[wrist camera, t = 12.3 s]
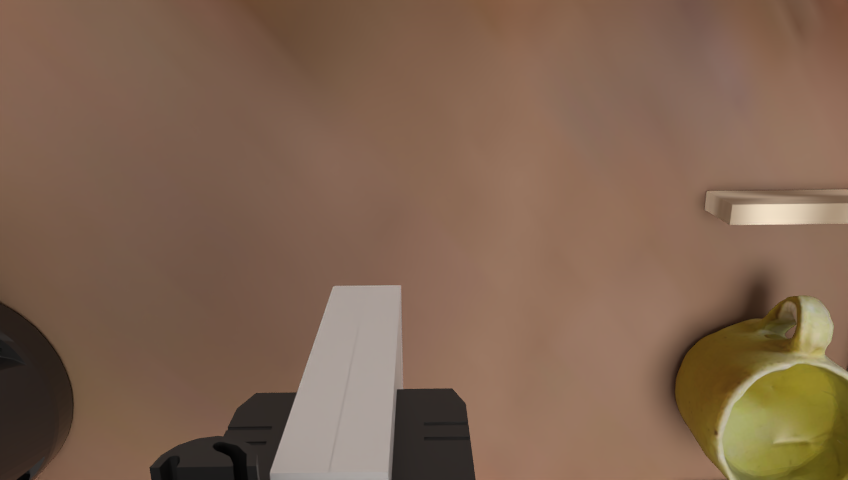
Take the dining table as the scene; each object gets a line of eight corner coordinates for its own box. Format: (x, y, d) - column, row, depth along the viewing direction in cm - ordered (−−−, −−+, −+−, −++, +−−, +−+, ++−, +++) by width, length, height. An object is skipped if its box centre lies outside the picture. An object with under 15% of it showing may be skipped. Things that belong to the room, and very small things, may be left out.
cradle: (670, 494, 48) (690, 529, 44) (706, 191, 41) (732, 204, 38) (839, 492, 48) (871, 526, 44) (902, 188, 41) (945, 202, 38)
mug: (796, 484, 45) (855, 552, 35) (647, 425, 47) (665, 474, 38) (864, 317, 44) (944, 340, 34) (709, 264, 46) (743, 272, 37)
